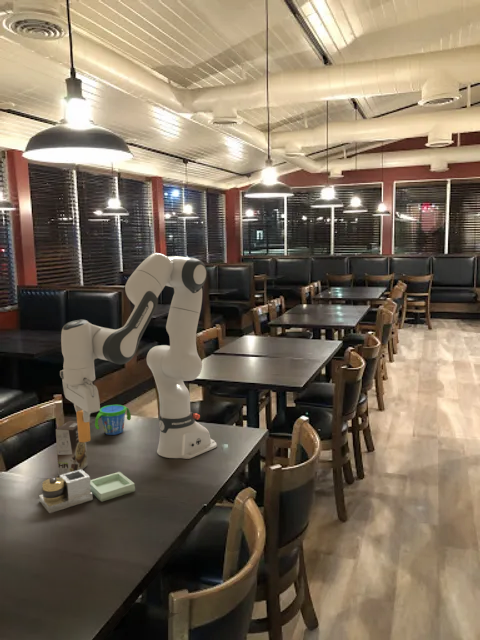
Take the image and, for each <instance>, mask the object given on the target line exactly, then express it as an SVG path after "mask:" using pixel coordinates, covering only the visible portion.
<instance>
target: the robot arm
mask: <svg viewBox="0 0 480 640" xmlns="http://www.w3.org/2000/svg"><path fill="white" fill-rule="evenodd" d="M207 271H208V270H207V268H206V264H205V263H204V262H203V261H202V260H200V259H197V258H194V257H187V256H182V255H181V256H180V255H177V256H176V255H175V256H174V255H173V256H171V255H170V256H168V255H165V254H163V253H159V252H154V253H151V254H149V256H148V257H146V258H145V259H144V260H143V261H142V262H140V264H139V265H138V266H137V267H136V268H135V270H134V271H133V272H132V274H131V275H130V276H129V277H128V279H127V281H126V283H125V286H124V287H125V288H124V289H125V294H126V296H127V298H128V300H129V301H130V302H131V303H132V304H133V305H134V308H133V310H132V312H131V313H130V316H128V318H127V321H126V322H125V324H124V325H123V326H122V327H120V328H117V329H113V328H109V327H103V326H99V325H96V324H92V323H91V322H89V321H88V320H86V319H77V320H72V321H69V322H67V323H65V324H64V325H63V327H62V329H61V336H60V338H61V339H60V342H61V344H60V346H61V353H62V356H63V364H62V365H63V366H62V367H63V369H62V370H60V371H59V376H60V378H61V380H62V389H63V395H64V397H65V399H67V400H68V401H70V402H71V403H72V404H73V406H74V410H75V413H76V412H77V411H80V410H83V416H82V420H83V421H84V422H85V423H86V422H89V423H90V422H91V414H93V413H97V412H99V410H100V408H101V405H100V404H101V403H100V395H99V390H98V387H97V385H95V384H93V382H94V381H95V380H96V371H95V360H97V359H99V360H103V361H108V362H111V363H114V364H116V365H125V364H127V363H129V362H130V361H131V360H132V359H133V358H134V356H135V355H136V354H137V353H136V352H137V351H138V346H139V344H140V341H141V339H142V337H143V335H144V333H145V331H146V329H147V327H148V325H149V323H150V322H151V319H152V318H153V316H154V313H155V312H156V310H157V306H158V302H159V300H158V298H159V296H160V294H161V293H162V291H163V290H164V288H165V287H170V288H173V296H172V299H171V303H170V306H169V311H168V316H167V320H166V324H165V329H166V332H167V334H168V336H169V345H167V344H161V345H155V346H152V348H150V349H149V351H148V352H147V355H146V365H147V366H148V369H150V371H151V373H152V375H153V378H154V380H155V384H156V387H157V392H158V400H159V415H158V427H159V440H158V441H159V442H158V445H157V450H156V453H157V455H159V456H160V457H163V458H167V459H168V458H169V459H187V460H188V459H189V460H190V459H193V458H195V457H197V456H199V455H202V454H204V453H207V452H208V451H211V450H213V449H215V448H217V442H216V440H215V439H212V438H211V435H210V432H209V430H208V429H207V428H206V427H205V426H204V425H203V424H202V425H201V424H200V423H199V422H197V421H196V420H198V421H199V420H200V418H201V415H200V414H198V413H197V412H196V413H194V412H192V411H191V397H190V396H191V394H190V391H189V389H188V388H187V386H186V385H185V382H188V381H189V382H190V381H195V380H197V379H198V377H199V376H200V374H201V372H202V371H203V361H202V359H201V357H200V356H199V353H198V350H197V349H198V348H197V330H198V326H199V325H198V324H199V320H200V315H201V310H202V304H203V286H204V285H205V282H206V281H207V276H208V272H207ZM76 416H77V414H76Z"/></svg>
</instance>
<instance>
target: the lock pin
mask: <svg viewBox="0 0 480 640" xmlns="http://www.w3.org/2000/svg"><path fill="white" fill-rule="evenodd" d="M75 413H76V414H77V415H76V421H77V426H78V438H79V442H86V443H87V442H91V440H92V439H91V438H92V437H91V427H90V421H89V422H86V423H85V422H84V421H83V420H82V416H83V410H80V411H77V412H76V411H75Z"/></svg>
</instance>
